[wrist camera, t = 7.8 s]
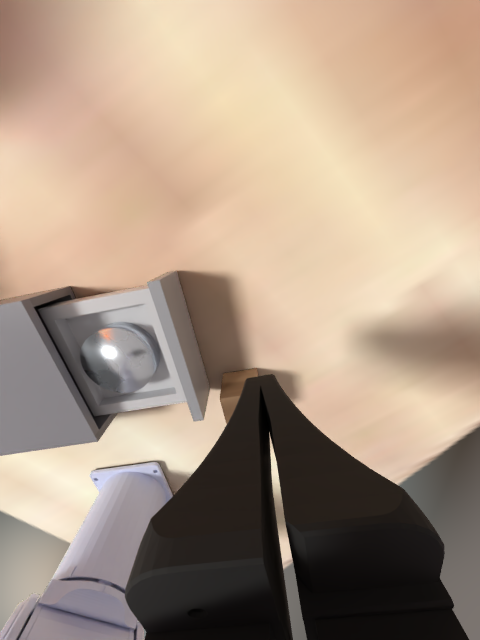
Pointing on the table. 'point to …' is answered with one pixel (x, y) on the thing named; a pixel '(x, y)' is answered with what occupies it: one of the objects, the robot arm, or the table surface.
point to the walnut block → (233, 389)
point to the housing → (39, 382)
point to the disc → (120, 357)
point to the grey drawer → (159, 321)
